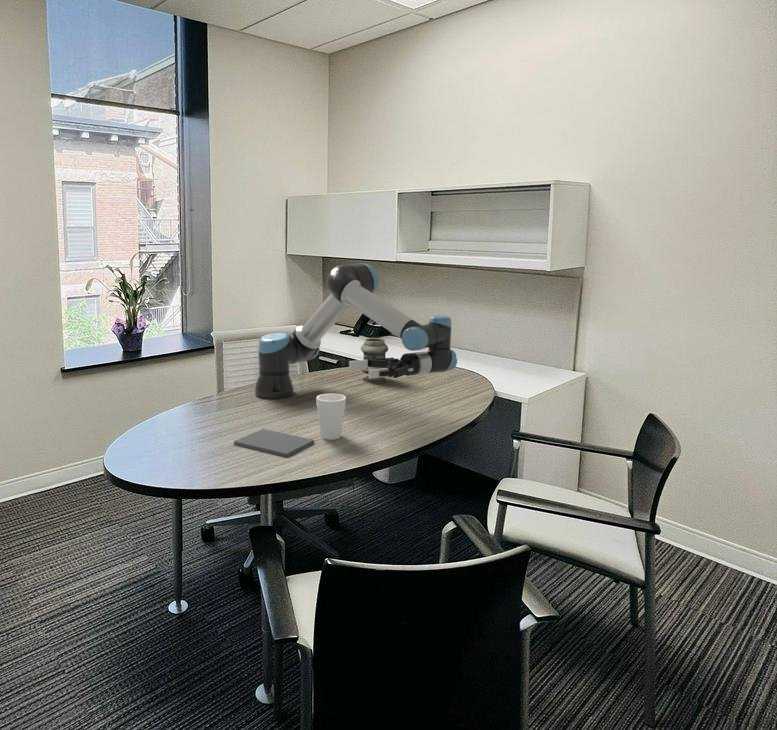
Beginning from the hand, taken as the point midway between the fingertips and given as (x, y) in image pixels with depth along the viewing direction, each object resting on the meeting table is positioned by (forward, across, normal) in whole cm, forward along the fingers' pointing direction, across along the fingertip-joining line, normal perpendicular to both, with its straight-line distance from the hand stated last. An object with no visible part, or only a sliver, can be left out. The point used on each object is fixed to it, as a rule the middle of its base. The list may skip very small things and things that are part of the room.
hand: (359, 369), depth 206 cm
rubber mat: (+28, +2, -21) cm, 35 cm away
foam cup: (+10, 0, -21) cm, 23 cm away
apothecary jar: (-38, +58, -21) cm, 72 cm away
